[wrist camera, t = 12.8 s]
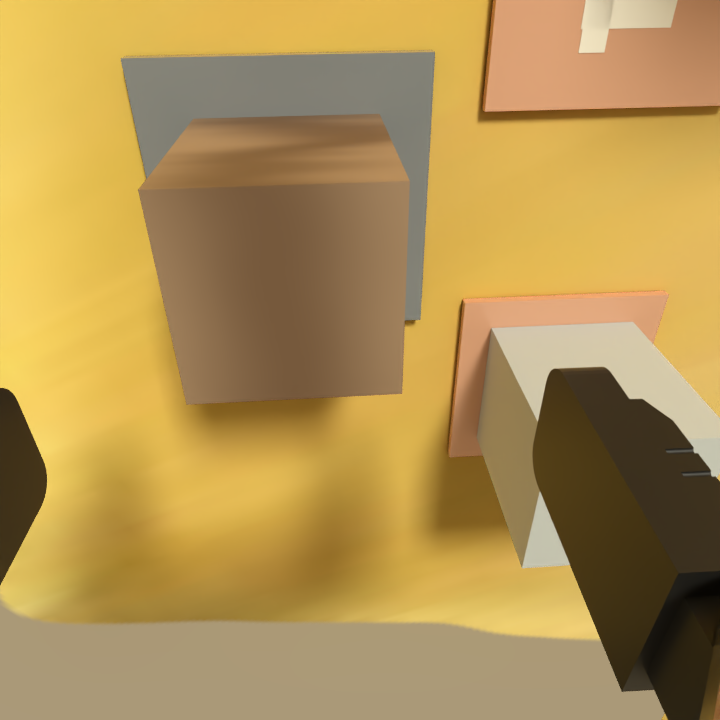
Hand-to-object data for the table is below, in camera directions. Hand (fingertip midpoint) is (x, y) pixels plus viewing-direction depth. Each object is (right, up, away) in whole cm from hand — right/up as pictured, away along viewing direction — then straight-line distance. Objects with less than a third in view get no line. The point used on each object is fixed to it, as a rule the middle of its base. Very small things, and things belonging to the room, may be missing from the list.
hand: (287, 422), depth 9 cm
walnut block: (-1, +5, +8) cm, 10 cm away
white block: (+8, 0, +13) cm, 15 cm away
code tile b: (+8, 0, +13) cm, 15 cm away
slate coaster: (-1, +6, +8) cm, 10 cm away
